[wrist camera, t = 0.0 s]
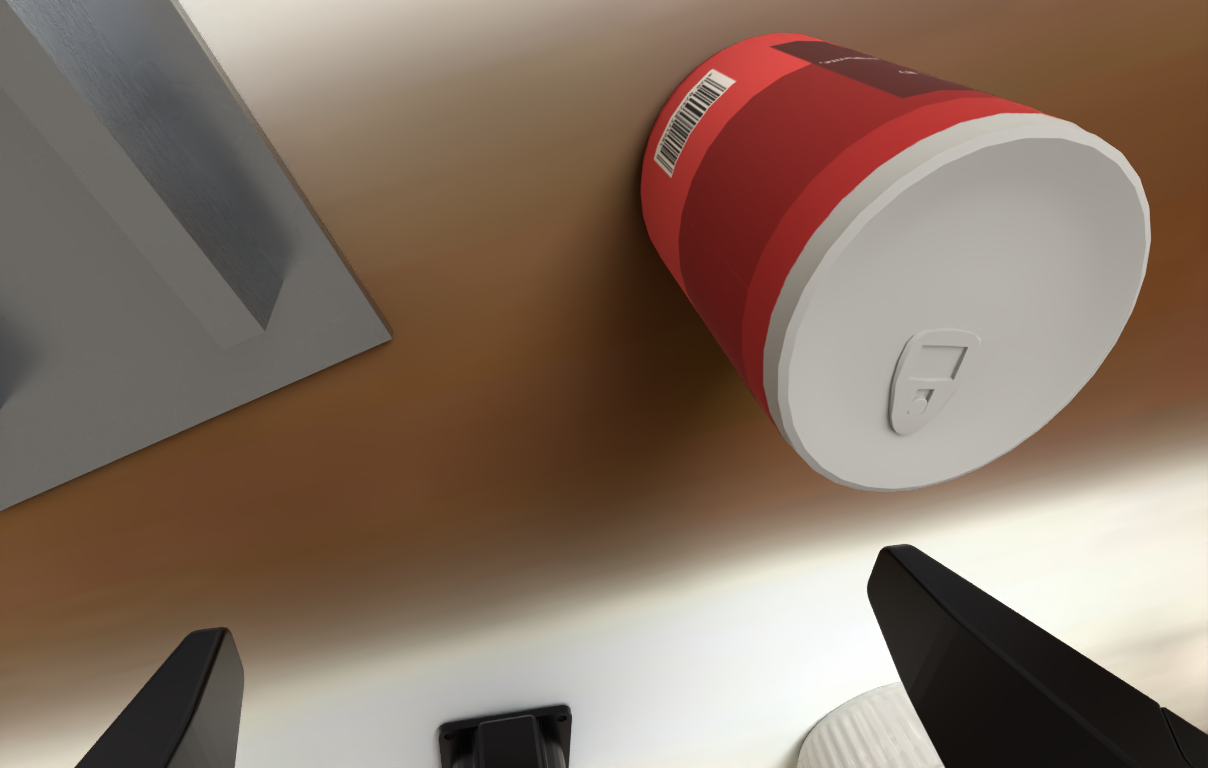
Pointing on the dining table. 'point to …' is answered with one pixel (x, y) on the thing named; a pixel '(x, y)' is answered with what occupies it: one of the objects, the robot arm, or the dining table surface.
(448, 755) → the robot arm
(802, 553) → the dining table surface
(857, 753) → the ramekin
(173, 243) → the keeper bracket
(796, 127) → the canned food
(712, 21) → the dining table surface
